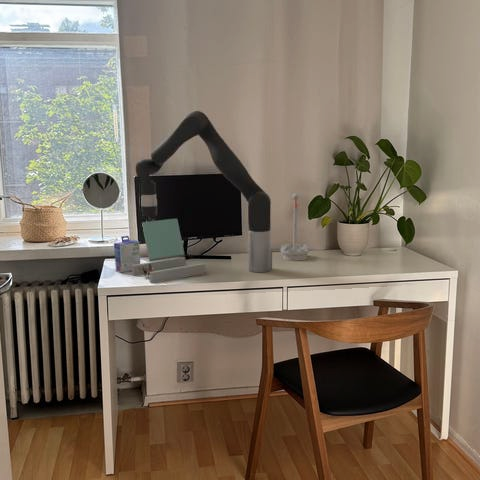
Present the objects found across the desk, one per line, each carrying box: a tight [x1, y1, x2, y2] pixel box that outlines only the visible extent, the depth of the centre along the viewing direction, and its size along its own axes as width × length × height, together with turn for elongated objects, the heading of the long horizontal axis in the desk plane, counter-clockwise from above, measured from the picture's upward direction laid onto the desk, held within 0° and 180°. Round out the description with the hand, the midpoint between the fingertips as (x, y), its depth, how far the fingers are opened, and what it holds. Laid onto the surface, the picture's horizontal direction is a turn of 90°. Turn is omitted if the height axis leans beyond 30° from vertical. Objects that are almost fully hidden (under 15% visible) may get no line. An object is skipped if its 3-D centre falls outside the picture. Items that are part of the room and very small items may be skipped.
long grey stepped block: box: [131, 256, 206, 284], centre depth 258 cm, size 25×17×4 cm
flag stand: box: [280, 192, 310, 261], centre depth 285 cm, size 13×13×30 cm
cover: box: [141, 218, 186, 262], centre depth 267 cm, size 17×17×1 cm
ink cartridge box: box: [113, 235, 141, 273], centre depth 265 cm, size 10×6×14 cm, turn 131°
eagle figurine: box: [138, 264, 153, 280], centre depth 251 cm, size 8×7×9 cm
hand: (149, 243), depth 277 cm, fingers closed
